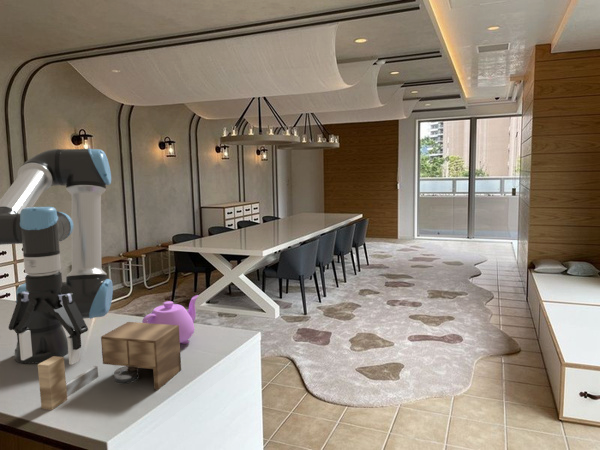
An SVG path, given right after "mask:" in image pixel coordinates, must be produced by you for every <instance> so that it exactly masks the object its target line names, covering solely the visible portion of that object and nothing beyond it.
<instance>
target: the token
mask: <svg viewBox="0 0 600 450" xmlns="http://www.w3.org/2000/svg"><path fill="white" fill-rule="evenodd" d="M113 375H114V382H115V383H116V384H120V385H125V384H131V383H134V382H135V381H137V380H138V379H139V368H137V367H130V366H121V367H118V368H117V369H115V370H114V374H113Z"/></svg>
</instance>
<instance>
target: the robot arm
mask: <svg viewBox="0 0 600 450" xmlns="http://www.w3.org/2000/svg"><path fill="white" fill-rule="evenodd" d="M16 175H17V176H16V179H15V180H14V181H13V182H12V184H11V185H10V187H9V188H8V189H7V190H6V192H5V193H4V194H3V195H2V196H1V197H0V246H1V245H2V246H3V245H16V244H17V245H18V244H19V245H20V244H22V254H23V255H22V256H23V264H24V265H23V267H24V273H25V274H26V275H25V277H24V279H25V283H23V284H20V285H18V287H17V288H16V290H15V297H16V300H15V303H16V304H15V307H14V309H13V314H12V315H11V318H10V322H9V324H8V330H10V331H14V332H15V333H16V337H17V342H16V348H15V350H14V353H13V355H14V360H15V362H17V363H19V364H30V365H31V364H40V363H41V362H43V361H45V360H47V359H49V358H51V357H53V356H56V357H64V356H66V355H67V354H68V364H69V365H71V366H72V365H75V363H77V362H79V361H80V360H81V355H80V354H81V353H80V349H81V348H82V339H81V338H82V337H81V336H82V334H84V333H87V332H88V331H89V328H88V325H87V324H86V321H85V319H90V320H91V319H95V318H102V317H105V316H106V315H107V314H108V313H109V311H110V309H111V307H112V301H113V294H114V287H113V286H114V285H113V281H112V279H110V278H107V277H108V276H107V275H108V274H107V272H106V271H104V270H103V268H102V195H103V194H104V193H105V192H106V191H107V188H106V187H107V186H109V185H111V184H112V172H111V167H110V163H109V160H108V157H107V155H106V152H105V151H103V150H102V149H100V148H89V147H88V148H67V149H66V148H63V149H61V148H60V149H59V148H58V149H57V148H53V149H49V150H44V151H41V152H40V153H37V154H35V155H34V156H32V157H30V158H29V159H28V160H26V161H25V162H24V163H23V164H22V165H21V166H20V167H19V168H18V171H17V174H16ZM56 186H61V187H62V186H65V187H66V188H65V189H66V192H68V193H69V194H70V195H71V216H70V215H68V214H67V213H66V212H63V211H57V208H55V207H53V206H35V204H36V203H37V201H38V200H39V198H40V197H41V196H42V193H43V192H45V191H47V190H48V189H50V187H56ZM70 235H71V270H70V272H69V273H67V275H65V276H66V278H65V281H63V274H62V272H61V270H62V262H61V260H62V259H61V252H60V251H61V250H60V242H62V241H65V240H66V239H67V238H69V237H70ZM65 331H66V332H67V333H68V335H69V336H67V334H66V332H65Z"/></svg>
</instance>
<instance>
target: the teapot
mask: <svg viewBox="0 0 600 450" xmlns="http://www.w3.org/2000/svg"><path fill="white" fill-rule="evenodd" d="M198 297H199V294H197V295H194V296H192V297H191V299H190V300H189V304H188V310H187V309H186V308H185V307H184V306H183V305H181V304H178V303H174V302H173V301H171V300H169V301H168V300H166V301H164V302H162V305H159V306H156V307H155V308H154V309H153V310H152V311H151V312H150V313H149V314H147V315H145V316H144V317H143V318H142V322H141V323H152V324H167V325H179V337H180V345H181V344H182V345H187V344H189V343H190V340H189V339H190V338H191V337H192V336H193V335H194V333H195V325H194V322H195V321H196V317H197V312H196V301H197V298H198Z"/></svg>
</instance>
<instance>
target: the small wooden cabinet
mask: <svg viewBox="0 0 600 450" xmlns="http://www.w3.org/2000/svg"><path fill="white" fill-rule="evenodd" d="M100 343H101V354H102V355H101V356H102V357H101V358H102V364H103V365H109V366H119V367H120V366H121V367H125V366H130V367H137V368H138V369H147V370H153V385H154V387H153V388H154V390H158V391H159V390H160V389H161V388H162V387H164V386H165V385H166V384H167V383H168V382H169V381H170V380H171V379H173V378H174V377H175V376H176V375H177V374H178V373H180V371H182V362H181V359H182V357H181V343H180V337H179V325H167V324H152V323H142V322H137V321H135V322H133V321H127V322H126V323H124V324H122V325H120V326H118V327H116V328H114V329H112V330H110V331H107V333H105V334H103V335H101V336H100Z"/></svg>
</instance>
